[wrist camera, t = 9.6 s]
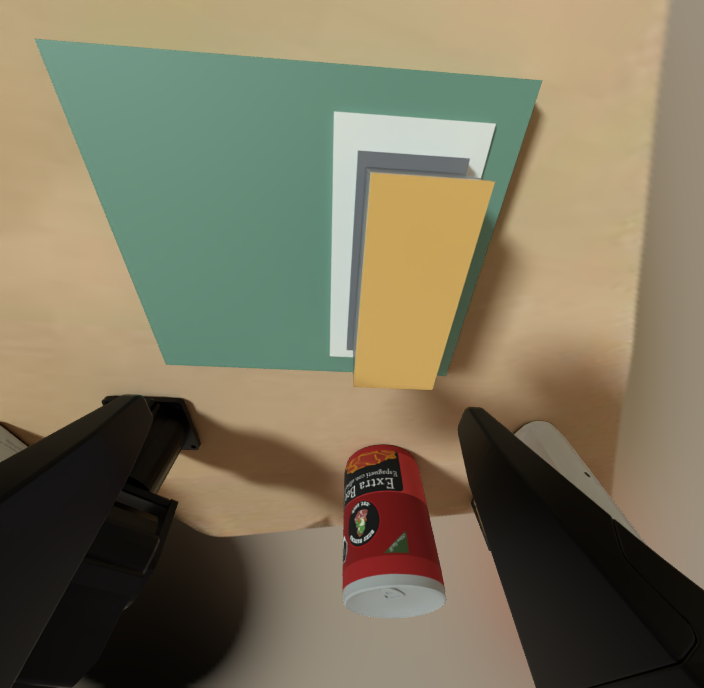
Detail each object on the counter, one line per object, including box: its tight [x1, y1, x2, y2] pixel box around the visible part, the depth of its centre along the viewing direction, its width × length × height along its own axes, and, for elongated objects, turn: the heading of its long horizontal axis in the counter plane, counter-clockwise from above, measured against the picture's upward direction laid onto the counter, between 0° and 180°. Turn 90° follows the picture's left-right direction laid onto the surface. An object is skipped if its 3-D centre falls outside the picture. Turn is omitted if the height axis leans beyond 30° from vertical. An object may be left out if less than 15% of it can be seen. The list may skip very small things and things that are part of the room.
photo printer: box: [514, 421, 648, 546], centre depth 24 cm, size 10×4×12 cm, turn 163°
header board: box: [35, 39, 542, 376], centre depth 15 cm, size 16×20×6 cm
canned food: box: [343, 445, 446, 618], centre depth 25 cm, size 8×8×11 cm
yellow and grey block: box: [353, 167, 495, 390], centre depth 13 cm, size 9×4×4 cm, turn 177°
